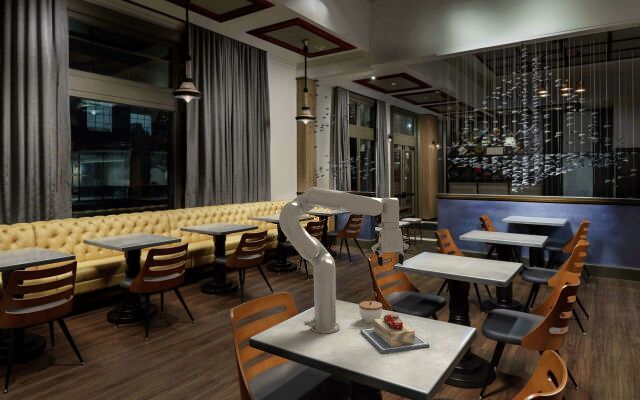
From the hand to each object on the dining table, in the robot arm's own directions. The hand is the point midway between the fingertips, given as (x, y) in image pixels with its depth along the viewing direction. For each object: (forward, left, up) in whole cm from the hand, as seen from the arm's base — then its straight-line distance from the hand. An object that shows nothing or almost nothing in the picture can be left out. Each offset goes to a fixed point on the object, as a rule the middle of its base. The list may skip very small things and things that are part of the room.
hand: (390, 264), depth 169 cm
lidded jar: (-5, +11, -28) cm, 31 cm away
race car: (-4, -11, -22) cm, 25 cm away
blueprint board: (-5, -12, -28) cm, 31 cm away
